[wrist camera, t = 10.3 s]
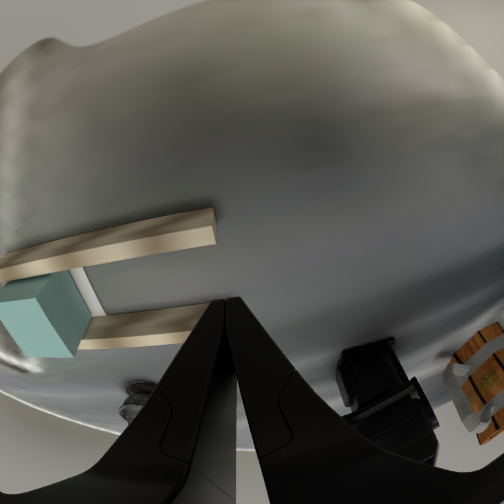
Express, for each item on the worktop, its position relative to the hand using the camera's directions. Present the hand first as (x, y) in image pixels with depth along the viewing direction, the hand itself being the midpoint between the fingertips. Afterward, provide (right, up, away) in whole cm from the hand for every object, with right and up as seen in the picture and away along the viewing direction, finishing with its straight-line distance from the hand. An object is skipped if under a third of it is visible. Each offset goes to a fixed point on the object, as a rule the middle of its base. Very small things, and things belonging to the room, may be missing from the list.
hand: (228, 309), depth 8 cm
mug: (+34, -14, +26) cm, 46 cm away
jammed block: (-17, -2, +13) cm, 21 cm away
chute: (-11, -1, +13) cm, 17 cm away
